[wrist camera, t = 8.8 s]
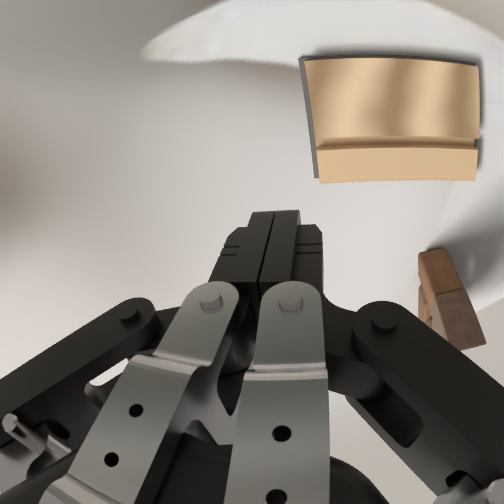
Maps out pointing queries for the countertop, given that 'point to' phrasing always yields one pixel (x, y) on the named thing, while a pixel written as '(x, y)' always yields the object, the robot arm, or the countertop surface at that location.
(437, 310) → the wooden block
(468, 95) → the board
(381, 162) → the floor section
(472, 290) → the countertop surface
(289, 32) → the countertop surface
